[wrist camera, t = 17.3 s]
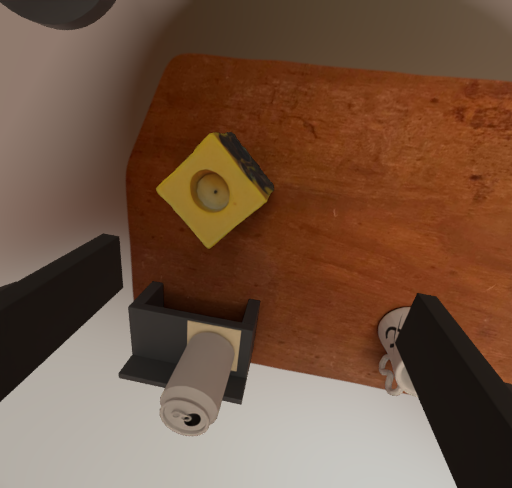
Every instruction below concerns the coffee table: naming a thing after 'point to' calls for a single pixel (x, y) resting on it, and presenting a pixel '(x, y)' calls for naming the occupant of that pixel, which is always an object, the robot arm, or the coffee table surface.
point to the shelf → (183, 340)
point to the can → (197, 385)
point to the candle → (216, 187)
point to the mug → (394, 353)
